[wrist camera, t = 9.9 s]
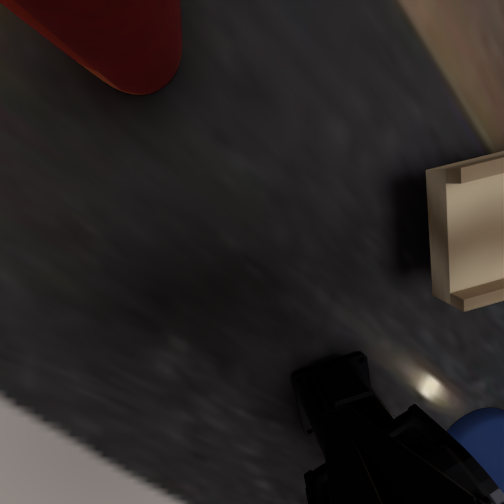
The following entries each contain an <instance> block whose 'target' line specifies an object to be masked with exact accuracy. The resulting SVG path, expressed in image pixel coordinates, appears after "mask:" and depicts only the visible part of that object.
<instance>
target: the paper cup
mask: <svg viewBox="0 0 504 504" xmlns="http://www.w3.org/2000/svg"><path fill="white" fill-rule="evenodd" d="M0 3H1V4H3V5H4V6H5V7H7V8H8V9H9V10H10V11H12V12H13V13H14V14H16V15H17V16H18V17H19V18H21V19H22V20H23V21H25V22H26V23H27V24H29V25H30V26H31V27H32V28H34V29H35V30H36V31H38V32H39V33H40V34H41V35H43V36H44V37H45V38H47V39H48V40H49V41H51V42H52V43H53V44H54V45H56V46H57V47H58V48H60V49H61V50H62V51H64V52H65V53H66V54H67V55H69V56H70V57H71V58H73V59H74V60H75V61H77V62H78V63H79V64H81V65H82V66H83V67H85V68H86V69H87V70H89V71H90V72H91V73H93V74H94V75H95V76H97V77H98V78H100V79H101V80H102V81H104V82H105V83H107V84H108V85H110V86H112V87H113V88H115V89H117V90H120V91H122V92H125V93H129V94H135V95H144V94H149V93H153V92H156V91H158V90H160V89H161V88H163V87H164V86H165V85H167V84H168V83H169V82H170V80H171V79H172V78H173V77H174V75H175V73H176V71H177V69H178V66H179V63H180V59H181V52H182V27H181V7H180V0H0Z"/></svg>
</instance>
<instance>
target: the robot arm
mask: <svg viewBox="0 0 504 504" xmlns="http://www.w3.org/2000/svg"><path fill="white" fill-rule="evenodd" d="M361 357H362V358H361ZM359 358H361V359H360V360H359ZM297 377H300V378H298V379H296V378H297ZM291 378H292V383H293V387H294V392H295V396H296V401H297V405H298V409H299V414H300V418H301V423H302V427H303V431H304V433H305V435H306V436H312V435H315V436H316V438H317V441H318V443H319V446H320V448H321V450H322V453H323V455H324V457H325V461H326V463H324V464H322V465H321V466H319V467H318V468H316V469H315V470H313V471H311V470H310V471H308V472H307V473H305V474H304V478H305V483H306V488H305V490H306V495H307V500H308V504H504V493H503V492H502V491H501V489H500V488H499V487H498V486H497V484H496V483H495V482H494V481H493V479H492V478H491V477H490V476H489V474H488V473H487V472H486V471H485V470H484V468H483V467H482V466H481V465H480V464H479V463H478V462H477V461H476V459H475V458H474V457H473V456H472V455H471V454H470V453H469V452H468V451H467V450H466V449H465V448H464V447H463V446H462V445H461V444H460V443H459V442H458V441H457V440H455V439H454V438H453V437H452V436H451V435H450V434H449V433H448V432H446V431H445V430H444V429H443V428H442V427H441V426H440V425H438V424H437V423H436V422H435V421H434V420H433V419H432V418H431V417H429V416H428V415H427V414H426V413H425V412H424V411H423V410H421V409H420V408H419V407H418V406H417V405H416V404H413V405H412V406H410V407H409V408H408V409H409V410H407V411H406V412H404V413H402V414H401V415H399V416H398V417H396V418H395V417H394V416H393V415H392V413H391V412H390V411H389V410H388V408H387V407H386V406H385V405H384V403H383V402H382V401H381V400H380V398H379V397H378V396H377V395H376V393H375V392H374V391H373V390H372V388H371V384H370V377H369V370H368V362H367V357H366V356H365V355H364V354H363V353H362V352H357V353H354V354H351V355H348V356H344V357H341V358H338V359H335V360H331V361H328V362H325V363H322V364H318V365H315V366H312V367H309V368H305V369H302V370H299V371H296V372H294V373H293V374H292V376H291ZM309 429H310V430H309Z"/></svg>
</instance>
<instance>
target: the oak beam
mask: <svg viewBox="0 0 504 504" xmlns="http://www.w3.org/2000/svg"><path fill="white" fill-rule="evenodd" d="M426 185H427V203H428V221H429V239H430V256H431V274H432V292H433V296H435V297H437V298H439V299H441V300H443V301H445V302H446V303H448V304H450V305H452V306H454V307H456V308H458V309H460V310H462V311H464V312H465V311H469V310H472V309H476V308H479V307H483V306H486V305H490V304H493V303H497V302H500V301H504V151H501V152H497V153H493V154H489V155H485V156H481V157H477V158H473V159H469V160H465V161H460V162H456V163H452V164H448V165H444V166H440V167H436V168H432V169H428V170H426Z"/></svg>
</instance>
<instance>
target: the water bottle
mask: <svg viewBox="0 0 504 504" xmlns="http://www.w3.org/2000/svg"><path fill="white" fill-rule="evenodd" d="M447 432H448V433H449V434H450V435H451V436H452V437H453V438H454V439H455V440H457V441H458V442H459V443H460V444H461V445H462V446H463V447H464V448H465V449H466V450H467V451H468V452H469V453H470V454H471V455H472V456H473V457H474V458H475V459H476V461H477V462H478V463H479V464H480V465H481V466H482V467H483V468H484V470H485V471H486V472H487V473H488V474H489V476H490V477H491V478H492V479H493V481H494V482H495V483H496V484H497V486H498V487H499V488H500V489H501V491H502V492H503V493H504V410H502V409H498V408H483V409H479V410H476V411H473V412H471V413H469V414H467V415H465V416H463V417H462V418H460V419H459V420H458V421H456V422H455V423H454V424H453V425H452V426H451V427H450V428H449V430H448V431H447Z"/></svg>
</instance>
